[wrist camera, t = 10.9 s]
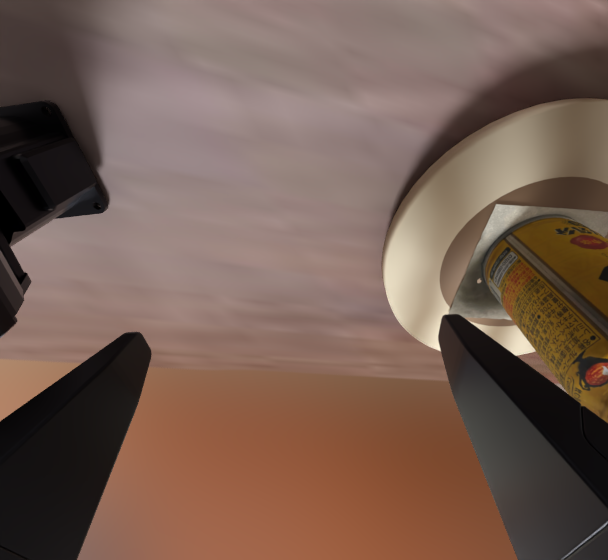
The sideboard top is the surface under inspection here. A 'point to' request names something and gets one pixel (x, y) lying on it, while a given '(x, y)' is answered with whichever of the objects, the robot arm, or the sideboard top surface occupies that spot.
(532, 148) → the ring
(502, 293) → the condiment
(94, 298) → the sideboard top surface
